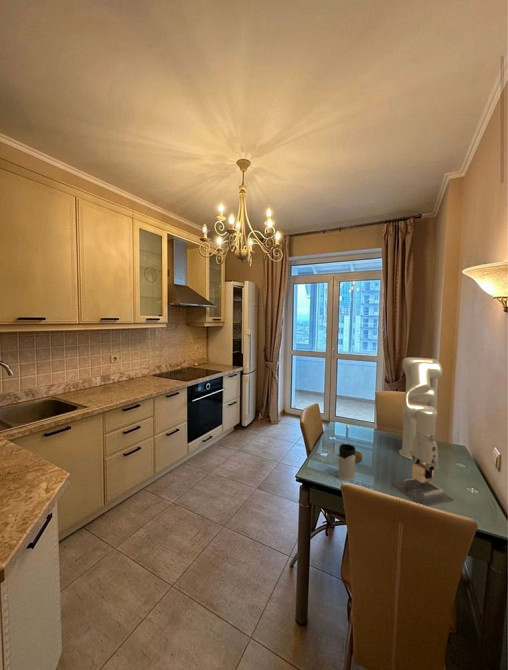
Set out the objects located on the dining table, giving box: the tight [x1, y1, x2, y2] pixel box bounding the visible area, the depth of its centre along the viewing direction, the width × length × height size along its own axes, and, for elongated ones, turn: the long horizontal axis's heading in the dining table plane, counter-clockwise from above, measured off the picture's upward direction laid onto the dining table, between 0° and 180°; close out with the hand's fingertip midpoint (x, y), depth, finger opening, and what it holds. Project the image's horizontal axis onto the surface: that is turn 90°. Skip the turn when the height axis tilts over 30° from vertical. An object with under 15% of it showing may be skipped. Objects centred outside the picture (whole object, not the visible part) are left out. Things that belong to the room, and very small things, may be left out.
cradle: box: [392, 477, 454, 507], centre depth 125 cm, size 18×16×4 cm
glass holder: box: [333, 442, 356, 482], centre depth 139 cm, size 9×14×15 cm, turn 24°
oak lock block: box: [411, 462, 435, 483], centre depth 124 cm, size 7×5×6 cm
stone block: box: [355, 449, 363, 463], centre depth 156 cm, size 6×12×5 cm, turn 50°
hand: (422, 474), depth 124 cm, fingers closed on oak lock block, 5 cm apart
